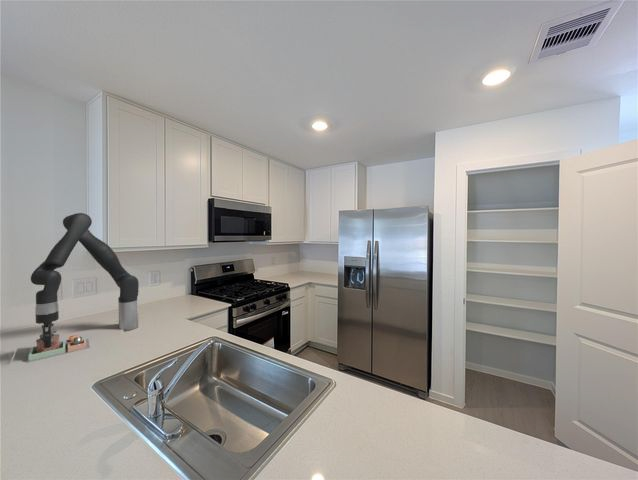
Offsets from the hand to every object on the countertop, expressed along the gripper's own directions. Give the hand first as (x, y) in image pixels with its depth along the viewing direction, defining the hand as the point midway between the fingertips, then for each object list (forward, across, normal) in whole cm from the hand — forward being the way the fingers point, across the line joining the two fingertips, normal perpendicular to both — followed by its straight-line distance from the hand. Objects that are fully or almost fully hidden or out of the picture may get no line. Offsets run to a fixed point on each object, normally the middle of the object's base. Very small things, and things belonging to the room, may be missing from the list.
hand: (48, 344), depth 121 cm
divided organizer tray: (+5, 0, +4) cm, 6 cm away
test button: (+4, -4, +9) cm, 11 cm away
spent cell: (+4, +3, +10) cm, 11 cm away
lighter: (+4, 0, 0) cm, 4 cm away
